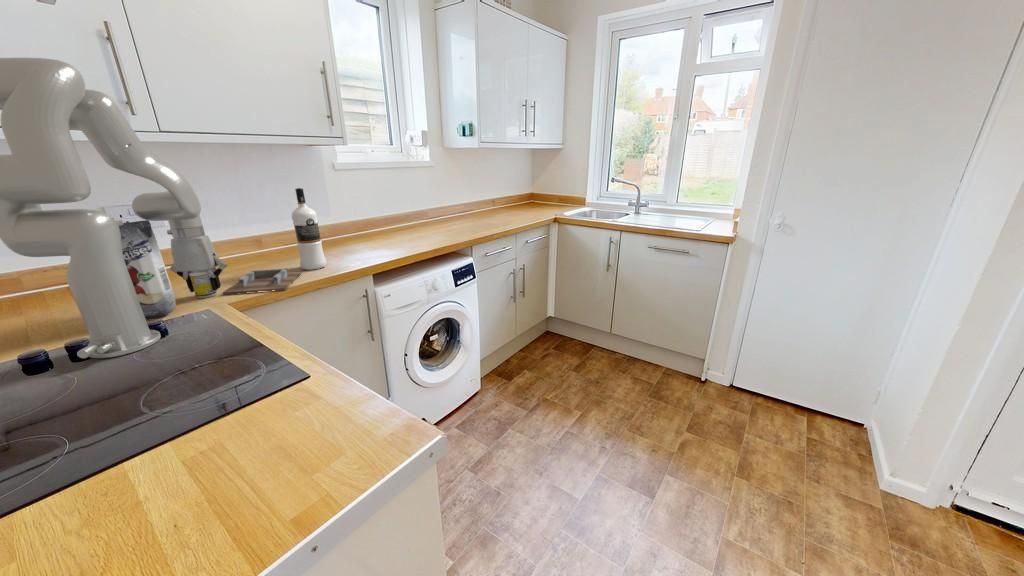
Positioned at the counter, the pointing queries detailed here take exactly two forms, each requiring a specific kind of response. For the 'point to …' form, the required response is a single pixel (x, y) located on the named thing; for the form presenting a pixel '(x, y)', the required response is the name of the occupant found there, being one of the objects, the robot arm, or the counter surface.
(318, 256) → the vodka
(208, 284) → the supplement bottle
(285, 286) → the u rest
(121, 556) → the counter surface
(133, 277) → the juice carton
